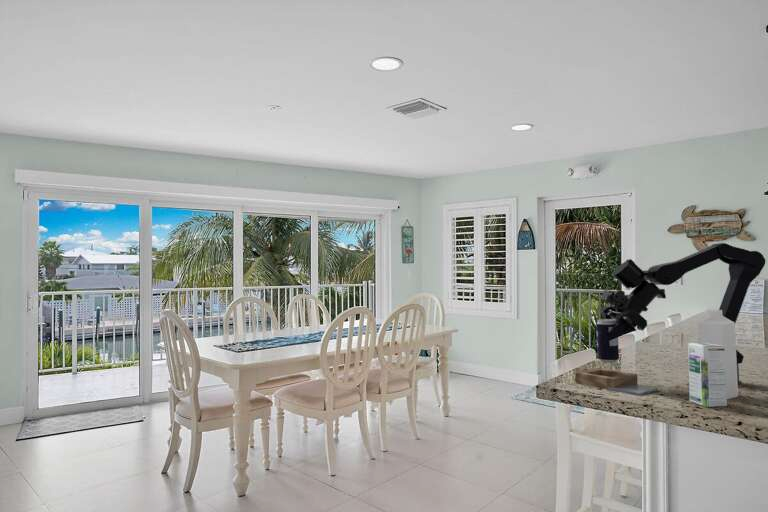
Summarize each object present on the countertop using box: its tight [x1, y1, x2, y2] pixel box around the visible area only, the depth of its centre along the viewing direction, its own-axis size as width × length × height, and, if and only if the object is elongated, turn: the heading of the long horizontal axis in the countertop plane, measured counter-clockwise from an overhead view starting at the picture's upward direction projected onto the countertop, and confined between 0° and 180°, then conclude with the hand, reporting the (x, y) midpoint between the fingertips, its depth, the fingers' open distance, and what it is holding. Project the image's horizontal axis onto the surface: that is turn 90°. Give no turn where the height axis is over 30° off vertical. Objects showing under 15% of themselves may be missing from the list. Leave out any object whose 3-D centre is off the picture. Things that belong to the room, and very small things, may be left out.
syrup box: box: [687, 342, 728, 408], centre depth 122 cm, size 6×6×14 cm
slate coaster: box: [607, 384, 658, 396], centre depth 137 cm, size 9×9×1 cm
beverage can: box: [595, 318, 620, 364], centre depth 146 cm, size 6×6×12 cm
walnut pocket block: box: [574, 367, 639, 390], centre depth 146 cm, size 12×12×3 cm
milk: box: [697, 309, 739, 400], centre depth 130 cm, size 6×6×22 cm
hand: (602, 338), depth 146 cm, fingers closed on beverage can, 6 cm apart
